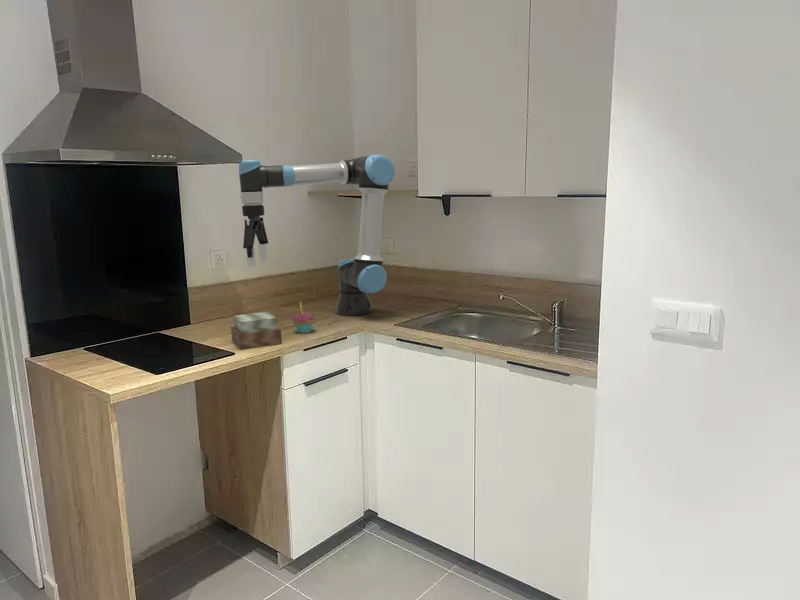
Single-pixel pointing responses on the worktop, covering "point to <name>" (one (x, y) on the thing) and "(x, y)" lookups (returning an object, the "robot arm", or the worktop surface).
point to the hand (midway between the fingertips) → (257, 264)
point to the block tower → (255, 330)
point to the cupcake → (303, 321)
